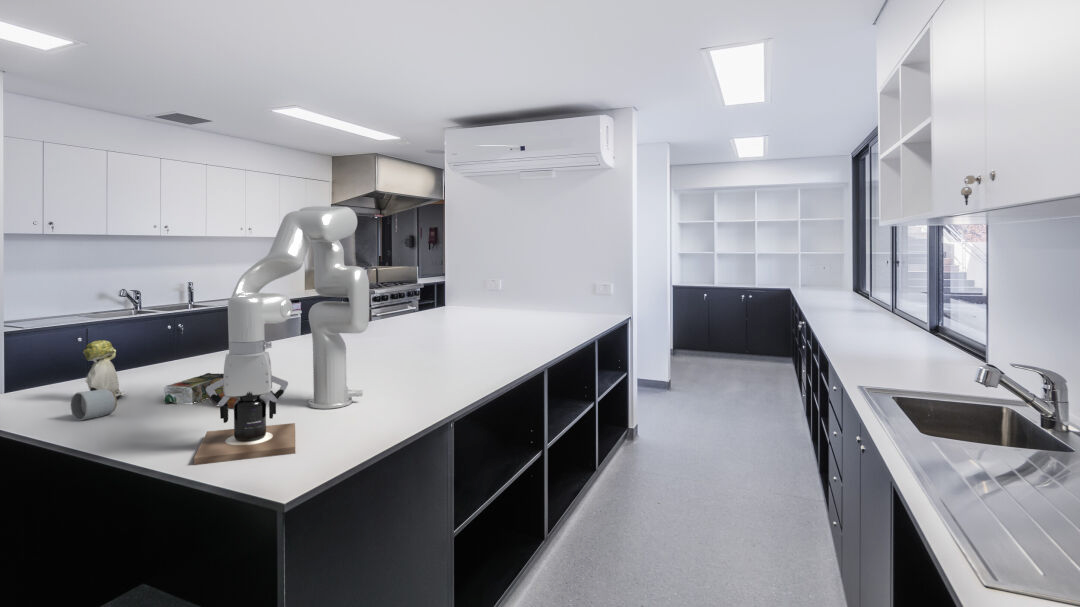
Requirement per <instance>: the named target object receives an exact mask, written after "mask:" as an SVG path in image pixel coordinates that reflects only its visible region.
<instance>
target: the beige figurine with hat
mask: <svg viewBox="0 0 1080 607" xmlns="http://www.w3.org/2000/svg"><path fill="white" fill-rule="evenodd" d="M82 353H83V355H84V356H85V357H84V358H85V360H86V361H88V362H89V361H93V364H92V365H90V367H91V368H90V370H89V372H88V373H87V374H86V377H85V378H84V379H86V380H85V383H87V386H88V389H89V390H88V391H95V390H111V391H112V392H113V393H114V394H115V396H116V398H117V397H118V396H120V395H124V396H126V395H127V392H128V391H126V390H123V391H121V389H119V388H120V385H119V377H118V374H117V370H116V369H115V365H114V364H113V362H112V361H111V360H113V359H115V358H116V355H117V354H116V353H117V350H116V349H115V348H114V347H113V344H112V342H110V341H108V340H104V339H103V340H101V339H100V340H94V341H91V342H89V343H88V344H86V346H85V349H84V350H83V351H82Z"/></svg>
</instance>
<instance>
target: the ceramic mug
mask: <svg viewBox="0 0 1080 607" xmlns="http://www.w3.org/2000/svg"><path fill="white" fill-rule="evenodd" d="M117 405H118V400H117V397H116V396H115V394H114V393H113V392H112V391H111V390H95V391H90V390H87V391H78V392H76V393H74V394H73V395H72V397H71V399H70V410H71V412H70V413H71V414H72V416H73V418H74V419H75V420H77V421H79V422H81V421H82V422H83V421H86V420H91V419H94V418H95V419H96V418H98V417H102V416H103V417H104V416H107V415H110V414H112V413H113V412H114V411H115V410H116V408H117Z"/></svg>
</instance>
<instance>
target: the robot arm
mask: <svg viewBox="0 0 1080 607" xmlns="http://www.w3.org/2000/svg"><path fill="white" fill-rule="evenodd" d="M357 227H358V216H357V214H356V212H355V211H354V210H353V209H352V208H350V207H348V206H323V205H322V206H318V205H317V206H315V205H314V206H313V205H312V206H306V207H302V208H300V209H299V210H295V211H290V212H288V213H286V214H285V216H284V217H283V218H282V221H281V223H280V226H279V227H278V230H277V233H276V235H275V237H274V240H273V242H272V245H271V247H270V250H269V252H268V253H267V255H265V257H263V258H262V259H261V258H260V260H258V261H257V262H256V263H255V264H254V265H252V266H251V267H250V268H248V269H247V270H246V271H245V272H243V274H242V275H241V276H240V278H239V280H238V281H237V283H236V285H235V287H234V290H233V292H232V294H231V297H230V298H229V299H228V301H227V327H228V328H227V329H228V353H226V355H225V356H224V357H225V358H224V365H223V374H224V376H223V379H221V380H219V381H217V382H215V383H214V384H212V385H210V386H208V387H207V388H206V391H207V393H208V394H209V396H210V397H211V399H212V400H213V401H215V402H216V403H217V404H218V405H219V406H218V407H219V410H220V412H219V413H220V414H219V415H220V416H219V418H220V419H221V420H222V419H223V423H224V424H226V423H227V422H228V421H229V408H228V404H227V401H228V400H229V398H230V397H242V396H245V395H247V392H248V394H249V391H250V393H251V392H252V394H253V395H258V396H259V395H261V396H266V397H267V398H268V399H269V402H268V411H269V412H268V413H269V419H273V418H274V415H277V401H278V400H279V399H280V398H281V397H282V396H283V395H284V392H285V390H287V387H288V386H289V381H287V380H284V379H282V378H280V377H278V376H274V375H272V374H273V373H272V372H273V371H272V362H271V358H270V354H269V351H266V350H267V349H269V348H270V349H271V348H272V342H270V341H269V342H268V341H267V340H266V339H265V337H266V336H265V324H272V325H273V324H276V325H277V324H282V323H284V322H286V321H287V320H288V319H290V318H291V315H292V314H293V310H294V309H293V308H294V307H293V303H292V301H291V299H290V298H289V297H288V296H286V295H284V294H280V293H273V292H272V293H270V292H269V293H267V292H260V291H261V290H263V288H265V287H266V286H267V285H268V284H270V283H272V282H273V281H276V280H278V279H281V278H284V277H286V276H289V275H291V274H295V273H296V272H298V271H299V270H301V268H302V267H303V264H304V261H305V259H306V255H307V253H308V250H309V248H310V245H311V247H312V250H313V277H314V278H313V280H314V283H313V285H314V290H315V292H316V294H318V295H319V296H321V297H328V298H329V297H330V298H348V301H338V300H337V301H332V300H330V301H329V300H328V301H327V300H325V301H319V302H317V303H315V304H313V305H312V306H311V307H310V309H309V311H308V324H309V327H310V332H311V338H312V368H313V369H312V370H313V371H312V374H313V375H312V376H313V378H312V379H313V380H312V381H313V382H312V383H313V398H311V399H309V400H308V404H307V405H308V407H310V408H313V409H319V410H321V409H324V410H326V409H327V410H329V409H337V408H342V407H347V406H348V405H350V404H352V403H353V399H352V397H357V398H358V397H363V390H362V389H349V388H348V386H347V383H348V382H347V345H346V343H345V340H344V338H343V337H342V336H341V334H362V333H364V332H365V331H366V330H367V328H368V327H369V321H370V280H369V276H368V273H367V271H366V269H364V268H363V267H361V266H357V265H345V257H344V255H345V252H344V246H343V245H342V243H341V241H340V240H343V239H345V238H349V237H350V236H352V235H353V234H354V233H355V231H356V230H357ZM273 384H277V385H279V389H278V390H276V392H274V391H273V390H272V389H273ZM222 385H223V392H224V396H223V397H222V398H221V397H220V396H219V395H218V394H216V392H215V389H217V388H218V387H220V386H222Z"/></svg>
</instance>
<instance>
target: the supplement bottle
mask: <svg viewBox="0 0 1080 607" xmlns="http://www.w3.org/2000/svg"><path fill="white" fill-rule="evenodd" d="M261 396H262V395H259V396H258V395H253V394H252V392H251V393H250V391H249V394H248V392H247V395H245V396H242V397H239V398H240V399H239V400H237V401H236V402H235V404H234V408H233V429H234V438H235V439H236V440H237V441H242V442H247V441H255V440H259V439H262V438H264V437H265V435H266V426H267V403H266V400H265V399H264V398H262V397H261Z"/></svg>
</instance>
